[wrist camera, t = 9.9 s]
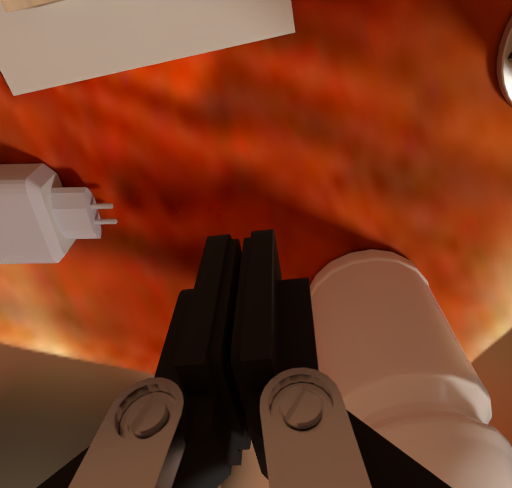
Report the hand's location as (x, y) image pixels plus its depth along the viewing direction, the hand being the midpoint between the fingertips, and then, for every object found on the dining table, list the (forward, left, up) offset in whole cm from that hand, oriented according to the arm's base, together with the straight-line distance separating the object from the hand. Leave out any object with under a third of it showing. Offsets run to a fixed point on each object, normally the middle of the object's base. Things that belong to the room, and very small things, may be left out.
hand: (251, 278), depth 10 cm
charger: (+23, +8, -28) cm, 37 cm away
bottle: (-7, +27, -27) cm, 39 cm away
